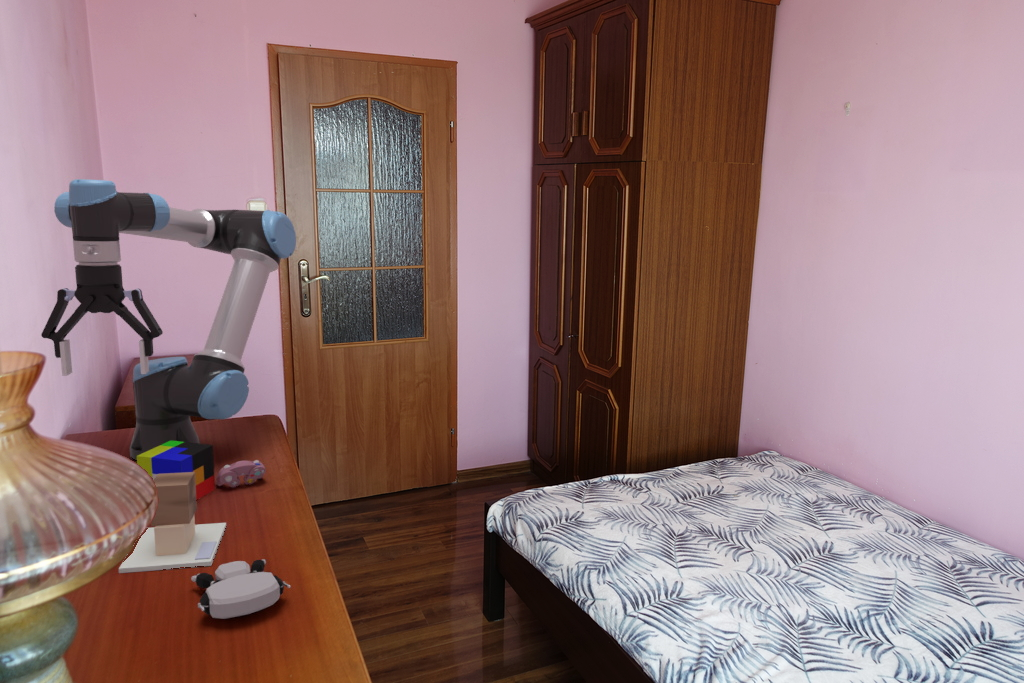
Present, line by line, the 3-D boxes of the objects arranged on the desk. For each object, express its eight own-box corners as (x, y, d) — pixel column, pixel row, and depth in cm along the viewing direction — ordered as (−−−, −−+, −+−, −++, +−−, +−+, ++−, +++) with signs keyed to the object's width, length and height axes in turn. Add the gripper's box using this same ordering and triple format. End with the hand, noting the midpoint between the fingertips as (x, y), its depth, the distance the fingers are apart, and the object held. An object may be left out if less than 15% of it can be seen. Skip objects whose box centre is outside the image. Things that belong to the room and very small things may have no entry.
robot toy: (188, 594, 108) (204, 637, 96) (186, 566, 108) (202, 606, 95) (268, 574, 115) (293, 612, 102) (266, 548, 114) (291, 583, 102)
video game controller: (218, 497, 146) (220, 474, 143) (214, 481, 149) (215, 458, 146) (266, 488, 152) (269, 465, 148) (261, 473, 155) (263, 451, 151)
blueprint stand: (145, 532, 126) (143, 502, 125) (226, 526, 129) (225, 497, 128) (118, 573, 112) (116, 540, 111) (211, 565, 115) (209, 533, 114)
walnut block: (160, 511, 122) (158, 473, 121) (196, 509, 123) (194, 471, 122) (151, 526, 116) (148, 486, 115) (189, 523, 117) (187, 484, 116)
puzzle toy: (183, 508, 137) (181, 461, 135) (139, 503, 139) (136, 456, 137) (214, 489, 146) (212, 444, 145) (173, 484, 148) (170, 440, 147)
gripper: (13, 264, 123) (24, 379, 127) (165, 266, 129) (171, 376, 133) (32, 261, 130) (42, 370, 134) (174, 263, 136) (180, 367, 140)
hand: (106, 373), depth 133 cm, fingers open, 13 cm apart
